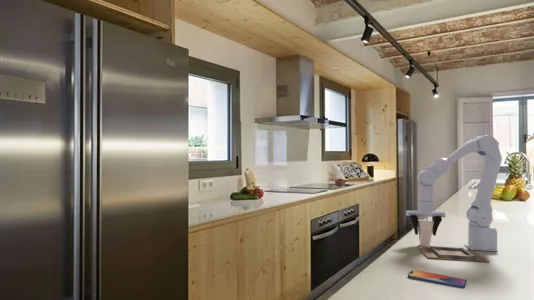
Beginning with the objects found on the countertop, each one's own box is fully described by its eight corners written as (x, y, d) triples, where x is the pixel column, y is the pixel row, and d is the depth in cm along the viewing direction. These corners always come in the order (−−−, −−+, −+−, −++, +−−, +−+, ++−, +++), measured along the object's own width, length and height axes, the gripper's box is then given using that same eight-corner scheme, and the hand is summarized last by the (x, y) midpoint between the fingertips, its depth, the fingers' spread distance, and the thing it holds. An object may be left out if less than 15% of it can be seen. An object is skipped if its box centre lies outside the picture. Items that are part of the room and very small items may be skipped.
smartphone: (464, 290, 104) (464, 286, 104) (406, 278, 112) (407, 275, 112) (466, 283, 110) (466, 279, 110) (412, 272, 118) (412, 269, 118)
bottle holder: (473, 251, 144) (473, 247, 144) (489, 262, 130) (489, 258, 130) (417, 248, 146) (418, 244, 146) (427, 258, 133) (427, 254, 133)
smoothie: (435, 247, 148) (435, 211, 148) (417, 246, 149) (418, 211, 149) (431, 243, 154) (432, 209, 154) (414, 242, 156) (415, 208, 156)
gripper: (441, 199, 155) (441, 233, 155) (404, 198, 157) (404, 231, 157) (447, 202, 148) (446, 237, 148) (408, 200, 150) (407, 235, 150)
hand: (425, 234), depth 152 cm, fingers open, 6 cm apart
